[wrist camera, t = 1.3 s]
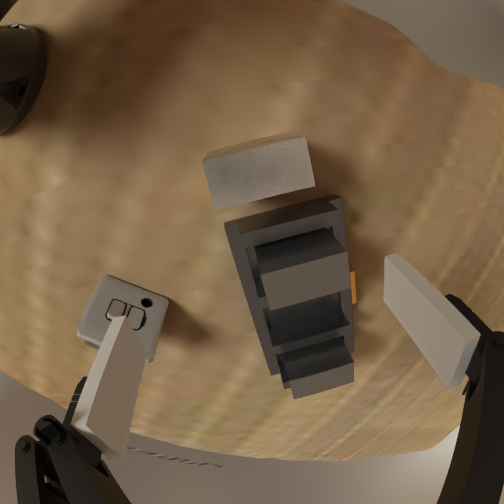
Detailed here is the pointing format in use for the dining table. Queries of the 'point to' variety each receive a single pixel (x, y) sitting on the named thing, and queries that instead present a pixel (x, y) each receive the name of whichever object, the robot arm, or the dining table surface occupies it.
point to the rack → (299, 291)
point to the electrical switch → (123, 313)
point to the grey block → (258, 169)
